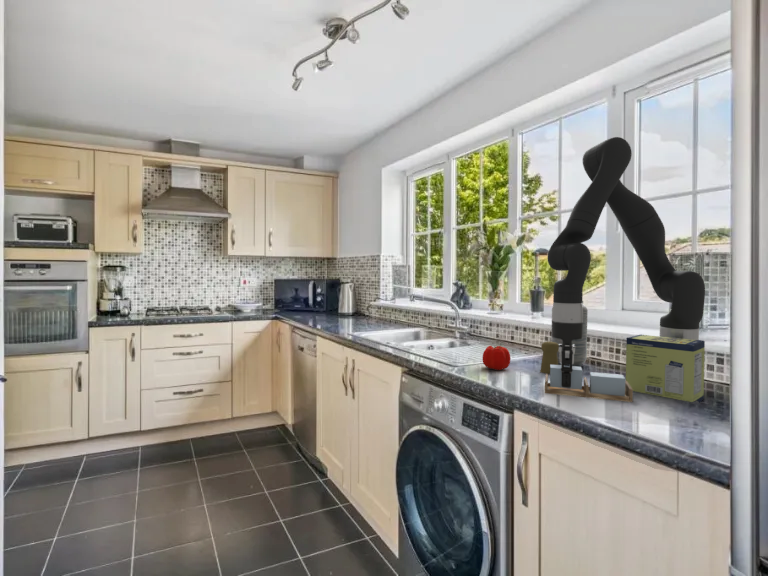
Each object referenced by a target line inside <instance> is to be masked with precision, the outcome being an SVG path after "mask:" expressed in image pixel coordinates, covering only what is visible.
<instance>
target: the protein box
mask: <svg viewBox="0 0 768 576" xmlns="http://www.w3.org/2000/svg"><path fill="white" fill-rule="evenodd" d="M705 342H706V341H705V340H701V339H699V340H692V339H681V338H670V337H660V335H659V336H658V335H649V334H636V335H633V336H628V337H626V343H625V344H626V348H625V349H626V350H625V381H627V382H628V383H629V385H630V386H631V388H632V389H633V392H637V393H642V394H647V395H652V396H658V397H663V398H667V399H674V400H679V401H684V402H690V403H693V402H696V401H697V403H699V404H701V402H702V400H703V399H705V398H704V397H705V395H704V394H705V393H704V392H705V391H704V388H705V387H704V386H705V385H704V383H705V350H706V349H705V348H706V346H705ZM703 401H704V400H703Z"/></svg>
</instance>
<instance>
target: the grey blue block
mask: <svg viewBox="0 0 768 576" xmlns="http://www.w3.org/2000/svg"><path fill="white" fill-rule="evenodd" d="M564 367H570V366H564ZM572 369H573V371H572V373H571V387H570V388H569V389H580V390H582V386H583V368H582V366H580V367H577V366H572ZM549 383H550V387H559V388H567V387H562V372H561V365H551V364H550V374H549Z"/></svg>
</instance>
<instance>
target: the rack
mask: <svg viewBox="0 0 768 576" xmlns="http://www.w3.org/2000/svg"><path fill="white" fill-rule="evenodd" d="M544 376H545V380H544V394H550V395H559V396H567V397H568V396H569V397H570V396H571V397H579V398H589V399H596V400H597V399H600V400H608V401H609V400H610V401H619V402H628V403H630V402H631V403H633V397H634V396H633V394H634V393H633V392H634V391H633V389H632V388H631V386H630V385H629V383H628V382H627V381H626V380H625V396H617V395H607V394H596V393H590V384H589V382H588V378H587V377H583V385H582V390H580V389H569V388H559V387H550V382H549V374H547V373H545V375H544Z"/></svg>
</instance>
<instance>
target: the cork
mask: <svg viewBox="0 0 768 576" xmlns="http://www.w3.org/2000/svg"><path fill="white" fill-rule="evenodd" d="M541 350H542V356H541V357H542V358H541V363H540V371H539V373H542V374H548V375H550V364H551V365H558V357H557V352H558V351H559V345H558V343H556V342H551V340H550V341H549V340H548V341H543V342H542V343H541Z"/></svg>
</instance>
